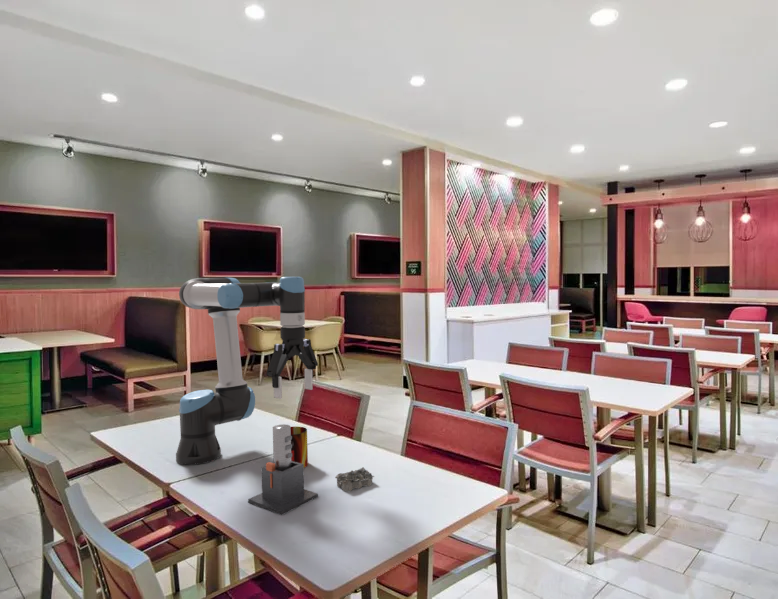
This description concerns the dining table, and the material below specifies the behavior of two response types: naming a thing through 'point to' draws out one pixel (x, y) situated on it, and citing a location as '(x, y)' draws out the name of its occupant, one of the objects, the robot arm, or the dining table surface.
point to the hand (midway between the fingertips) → (293, 393)
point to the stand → (282, 489)
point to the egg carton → (354, 479)
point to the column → (282, 447)
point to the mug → (299, 445)
